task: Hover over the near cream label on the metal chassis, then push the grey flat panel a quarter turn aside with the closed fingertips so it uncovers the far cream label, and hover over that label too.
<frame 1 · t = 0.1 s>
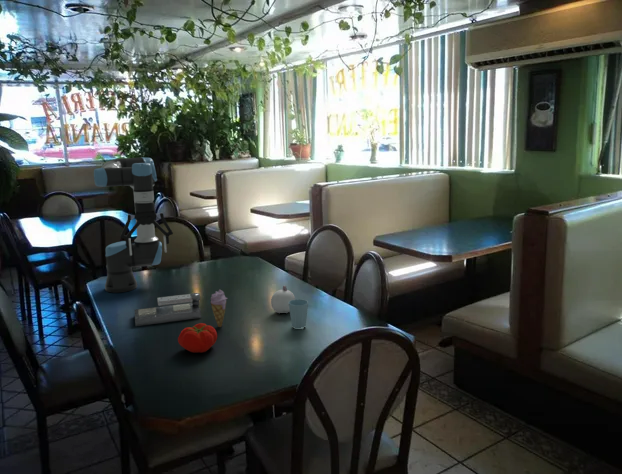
hand: (148, 253, 206), 28 cm above the table, fingers open, 13 cm apart
ornament: (283, 313, 215), on the table
cup: (298, 327, 199), on the table
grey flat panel: (179, 298, 214), point 7 cm above the table, hinge at 0.0°
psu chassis: (167, 317, 212), on the table
ice cream cone: (220, 327, 200), on the table
tomato: (199, 351, 178), on the table
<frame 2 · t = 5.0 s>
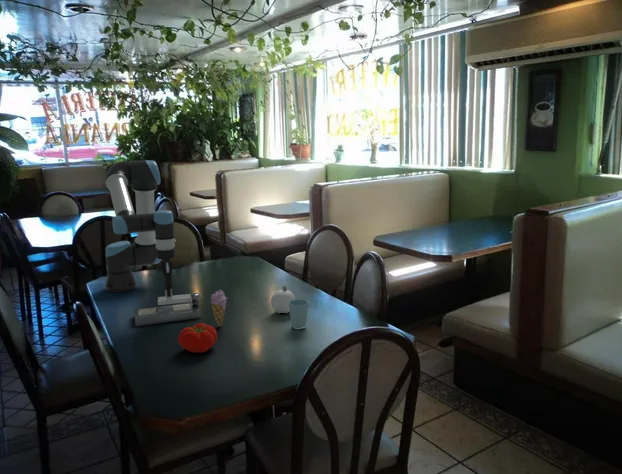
hand: (169, 303, 210), 6 cm above the table, fingers closed
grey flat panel: (179, 298, 214), point 7 cm above the table, hinge at -3.3°, touching gripper
everything else where it was.
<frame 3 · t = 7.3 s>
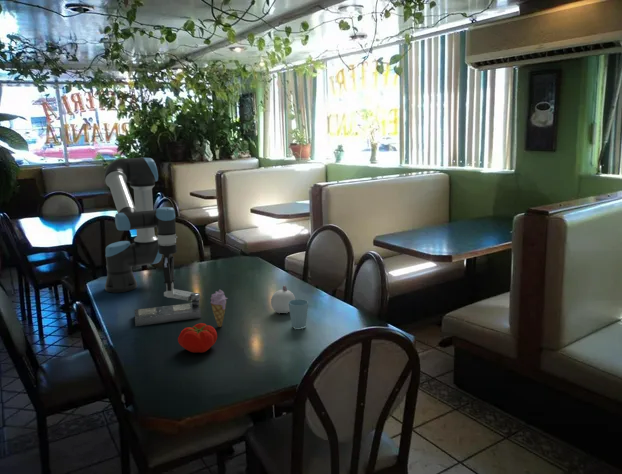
hand: (170, 297, 217), 6 cm above the table, fingers closed
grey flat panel: (183, 294, 219), point 7 cm above the table, hinge at -48.3°, touching gripper
everything else where it was.
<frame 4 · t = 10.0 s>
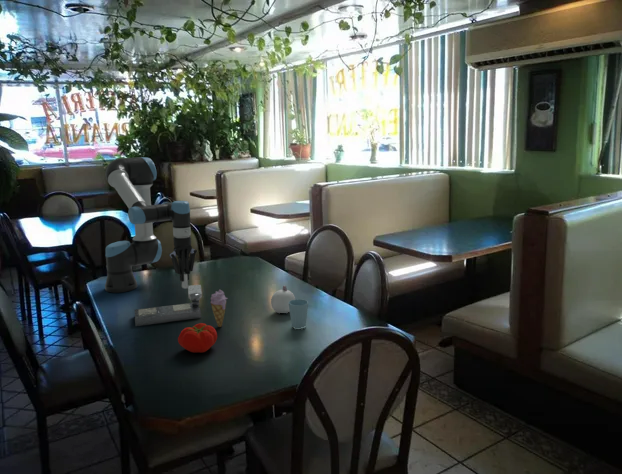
hand: (184, 287, 225), 8 cm above the table, fingers closed
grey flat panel: (194, 292, 222), point 7 cm above the table, hinge at -95.6°
everything else where it was.
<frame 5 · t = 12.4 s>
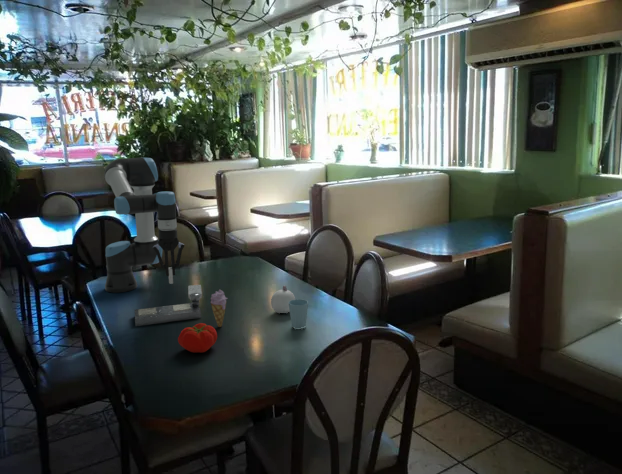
hand: (171, 282, 215), 13 cm above the table, fingers closed
nothing on the table moved.
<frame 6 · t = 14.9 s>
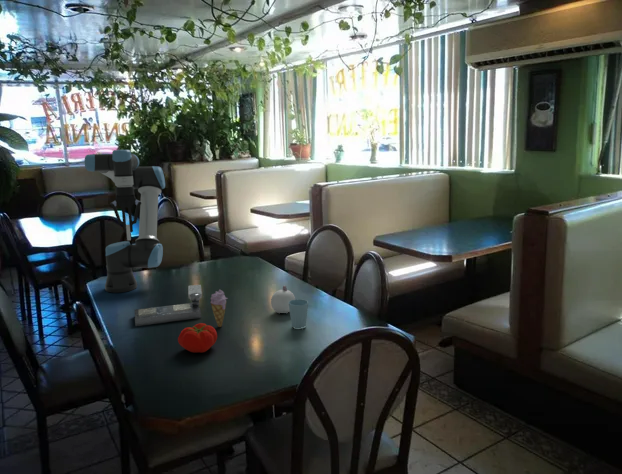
hand: (129, 239, 221), 30 cm above the table, fingers closed
nothing on the table moved.
at the end: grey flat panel at -96° (first picture: +0°) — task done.
